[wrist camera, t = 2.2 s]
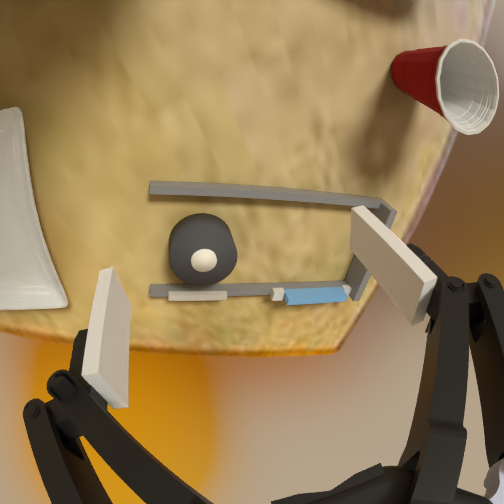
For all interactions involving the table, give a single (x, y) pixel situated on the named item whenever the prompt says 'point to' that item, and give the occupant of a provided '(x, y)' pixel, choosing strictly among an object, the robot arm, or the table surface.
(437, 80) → the plastic cup
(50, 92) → the table surface
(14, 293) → the square plate
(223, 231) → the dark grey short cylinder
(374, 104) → the table surface
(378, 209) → the gray u-shaped frame
